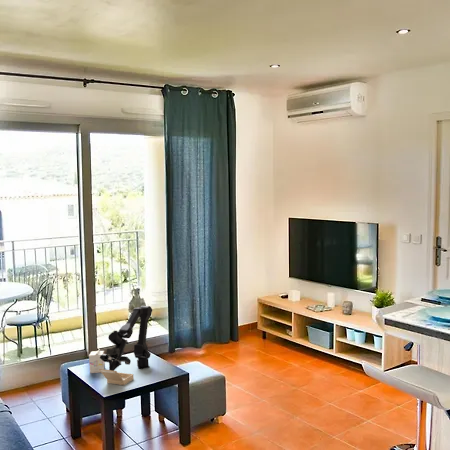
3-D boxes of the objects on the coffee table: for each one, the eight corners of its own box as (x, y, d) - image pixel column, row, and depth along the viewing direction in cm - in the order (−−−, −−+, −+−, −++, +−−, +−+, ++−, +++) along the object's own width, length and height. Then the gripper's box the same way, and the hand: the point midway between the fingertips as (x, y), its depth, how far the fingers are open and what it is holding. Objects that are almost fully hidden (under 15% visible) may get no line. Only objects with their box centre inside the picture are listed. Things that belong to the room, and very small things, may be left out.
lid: (99, 368, 292) (98, 370, 292) (116, 370, 288) (115, 372, 287) (106, 378, 299) (106, 379, 298) (123, 380, 294) (122, 381, 293)
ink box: (92, 368, 325) (90, 348, 324) (105, 367, 326) (104, 347, 325) (89, 373, 317) (88, 352, 316) (103, 372, 317) (101, 351, 316)
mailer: (117, 377, 308) (116, 372, 308) (133, 379, 303) (133, 374, 303) (107, 383, 299) (106, 378, 299) (123, 385, 294) (123, 380, 294)
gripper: (99, 341, 298) (89, 366, 290) (125, 343, 291) (116, 369, 282) (109, 349, 307) (99, 373, 298) (134, 351, 299) (125, 376, 290)
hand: (110, 373), depth 292 cm, fingers closed, pressing on lid
